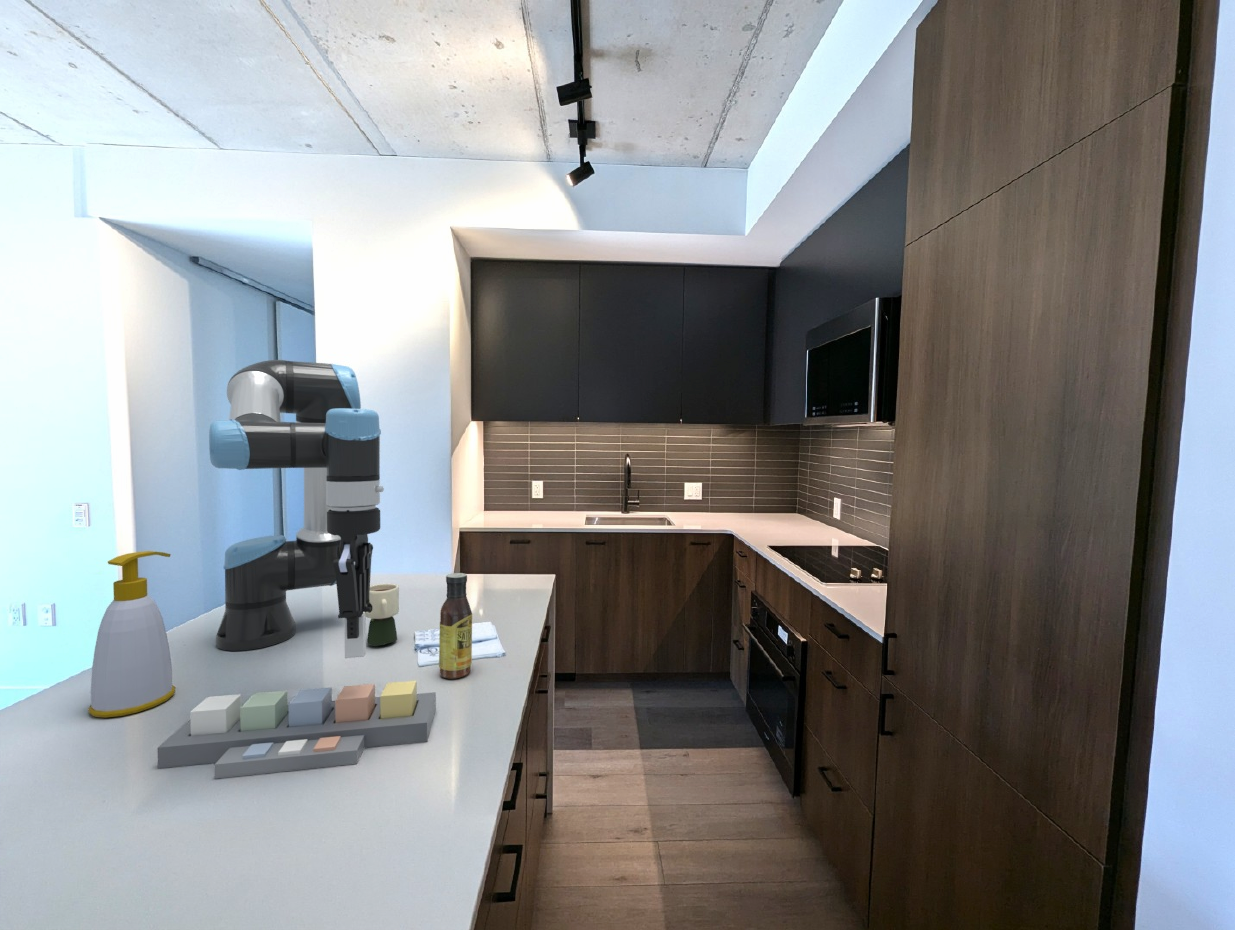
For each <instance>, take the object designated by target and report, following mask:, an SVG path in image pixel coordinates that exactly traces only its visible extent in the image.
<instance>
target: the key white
mask: <svg viewBox="0 0 1235 930" xmlns="http://www.w3.org/2000/svg"><path fill="white" fill-rule="evenodd" d="M242 700H243V699H242V693H239V694H237V693H236V694H227V695H215V696H207V697H205V698H204V699H203V700H202V701H201V702H200V703H199V704H198V705H196V706H195V707H194V708H193V709H192V710H191V711H190V712H189V713H190V714H189V715H190V716H189V720H190V722H191V736H198V735H209V734H221V733H228V732H229V731H230V730H231V729H232V728H233V727H234V726H235V725H236V724H237V723H238V721H239V720H240V708H241V707H242V706H243V705H242Z"/></svg>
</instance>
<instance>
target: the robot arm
mask: <svg viewBox="0 0 1235 930" xmlns="http://www.w3.org/2000/svg"><path fill="white" fill-rule="evenodd" d="M357 379H358V378H357V375H356V373H355V371H354V370H353V369H352V368H351V367H350V366H346V365H341V364H335V363H325V362H324V363H323V362H309V361H308V362H307V361H296V360H294V361H293V360H286V359H285V360H284V359H269V360H263V361H259V362H255V363H253V364H250V365H248V366H245V367H243V368H241V369H239V370H238V371H236V373H234V374H233V375H232V376H231V378H230V379H229V381H228V383H227V387H226V398H227V400H228V402H229V404H230V411H229V418H228V420H214V421H213V422H211V423H210V426H209V431H208V433H209V434H208V435H209V436H208V439H209V440H208V443H209V445H208V446H209V460H210V464H211V465H212V466H213V467H215V468H217V469H229V470H231V469H233V470H235V469H236V470H238V471H241V470H242V471H243V470H253V469H254V470H255V469H256V470H257V469H261V470H262V469H265V470H266V469H303V527H302V528H299V530H298V531H297V532H296V538H295V540H288V541H287V538H286V537H285V536H284V535H281V534H276V535H275V534H273V535H265V536H264V535H263V536H259V537H253V538H250V539H246V540H245V539H244V540H241V541H239V542H235V543H234V544H231V545H230V546H228V547H227V548H226V550H225V553H224V565H223V570H224V600H225V601H224V603H225V606H224V607H225V611H224V613H223V616H222V619H221V622H220V624H219V627H218V630H217V633H216V636H215V643H216V644H215V645H216V648H217V649H220V650H223V651H229V652H234V651H235V652H236V651H238V652H239V651H250V650H257V649H261V648H266V647H271V646H274V645H277V644H280V643H282V642H285V641H287V640H289V639H291V638H292V637H293V636H294V635H296V622H295V620H294V616H293V614H292V613H291V610H290V608H289V605H288V603H287V591H294V590H302V589H310V588H319V587H327V586H330V587H333V586H335V585H336V589H337V590H336V592H337V603H338V612H339V613H338V615H337V617H338V618H337V619H344V622H343V623H344V659H352V658H353V659H355V658H364V657H365V656H366V654H367V653H366V652H367V632H366V631H367V628H366V626H367V624H366V620H367V617H366V613H365V612H370V611H371V607H367V606H366V605H368V604H369V601H370V599H369V594H370V586H371V573H372V571H371V570H372V557H373V550H374V545H373V544H372V543H371V542H369V534H375V533H377V532H379V531H380V529H381V509H380V508H379V507H376V506H378V505H380V503H381V493H382V492H384V490H385V488H384V486H383V485H380V483H381V481H380V479H381V478H380V477H381V476H380V475H381V474H380V471H381V470H380V468H381V467H380V463H381V462H380V457H381V456H380V452H381V450H380V448H381V445H380V444H381V442H380V440H381V434H382V432H381V431H382V430H381V429H380V417H379V414H378V412H377V411H375V410H372V409H367V408H365V409H364V408H362V405H361V403H362V402H361V395H360V394H361V393H360V387H359V382H358V380H357ZM281 414H294V415H295V422H294V421H292V422H290V421H282V420H281Z"/></svg>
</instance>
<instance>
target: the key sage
mask: <svg viewBox="0 0 1235 930" xmlns="http://www.w3.org/2000/svg"><path fill="white" fill-rule="evenodd" d="M288 704H289V702H288V690H279V691H278V690H277V691H267V692H266V691H264V692H263V691H262V692H255V693H254V694H253V695H251V696H250V697H249V699H247V701H245V702H244V704H243V705H242V707H241V708H240V720H241V732H243V731H254V730H265V729H276V728H277V727H278V726H279V725H280V723H281V722H282V721H283V720H284V718H285V717H286V716H287V715H288Z"/></svg>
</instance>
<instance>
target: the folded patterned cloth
mask: <svg viewBox="0 0 1235 930" xmlns="http://www.w3.org/2000/svg"><path fill="white" fill-rule="evenodd" d="M413 632H414V633H413V635H414V649H416V650H415V651H414V652H413V654H415V653H416V655H417V666H418V668H422V667H430V666H435V665H436V666H437V665H439V639H440V627H438V628H433V629H424V630H416V631H413ZM499 637H500V636H499V635H498V632H497V628H496V625H494V624H493V623H492V621H483V622H476V623H475V622H474V623H472V661H473V660H481V659H489V658H490V659H493V658H502V657H503V656H507V655H506V653H507V652H506V651H505V649H504V647H503V645H502V642H501V641H500V638H499Z"/></svg>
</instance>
